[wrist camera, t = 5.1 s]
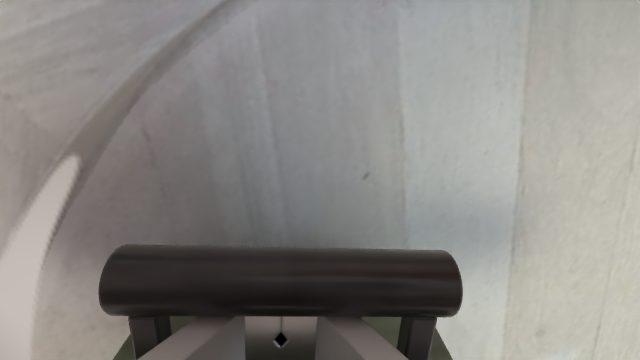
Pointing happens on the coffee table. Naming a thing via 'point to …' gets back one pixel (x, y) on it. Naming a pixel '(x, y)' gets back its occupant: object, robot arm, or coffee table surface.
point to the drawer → (282, 290)
